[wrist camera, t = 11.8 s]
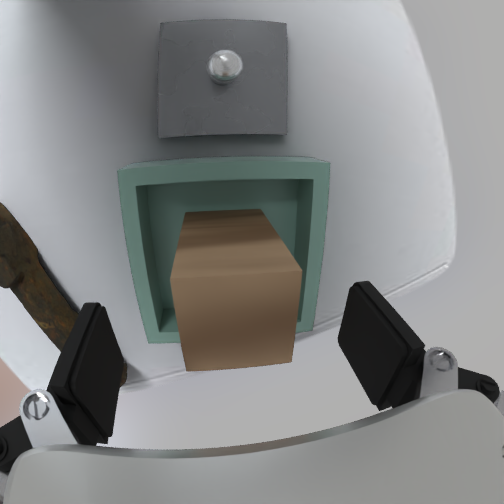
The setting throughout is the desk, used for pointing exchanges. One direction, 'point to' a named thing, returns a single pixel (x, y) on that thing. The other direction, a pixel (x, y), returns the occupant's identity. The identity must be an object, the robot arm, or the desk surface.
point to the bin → (213, 199)
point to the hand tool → (34, 283)
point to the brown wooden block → (234, 291)
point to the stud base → (228, 102)
